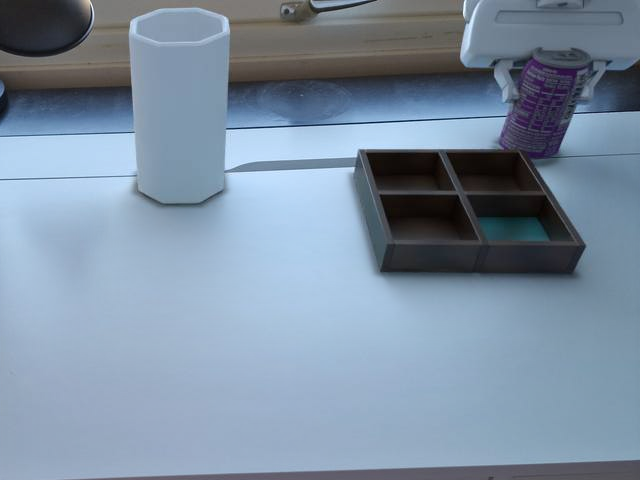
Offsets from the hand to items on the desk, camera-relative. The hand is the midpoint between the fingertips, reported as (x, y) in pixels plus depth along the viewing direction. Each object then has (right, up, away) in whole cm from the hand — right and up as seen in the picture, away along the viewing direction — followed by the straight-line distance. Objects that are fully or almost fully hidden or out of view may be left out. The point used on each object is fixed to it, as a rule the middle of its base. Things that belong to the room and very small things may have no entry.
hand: (547, 102), depth 83 cm
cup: (-44, -9, +2) cm, 45 cm away
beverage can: (0, -4, +5) cm, 7 cm away
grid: (-14, -15, -5) cm, 21 cm away
